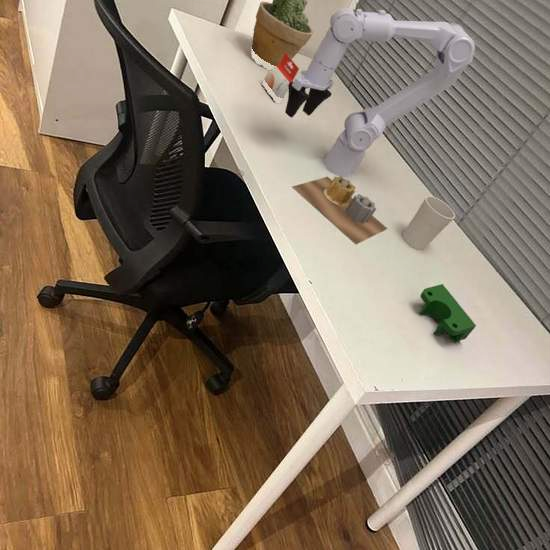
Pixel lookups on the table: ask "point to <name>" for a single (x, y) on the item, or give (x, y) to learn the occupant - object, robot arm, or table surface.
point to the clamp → (446, 313)
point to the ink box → (281, 76)
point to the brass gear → (340, 191)
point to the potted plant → (280, 30)
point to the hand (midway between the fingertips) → (297, 114)
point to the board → (338, 210)
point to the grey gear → (360, 209)
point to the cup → (427, 223)
